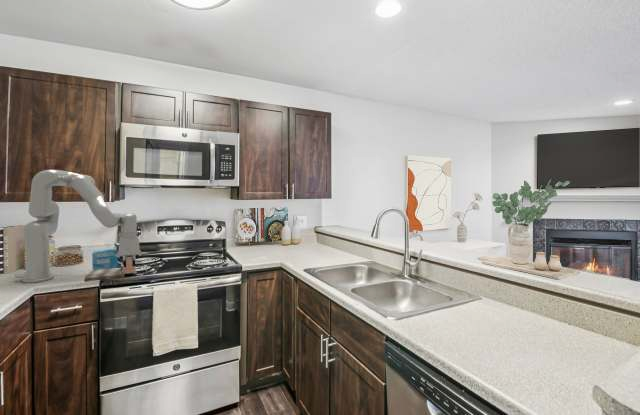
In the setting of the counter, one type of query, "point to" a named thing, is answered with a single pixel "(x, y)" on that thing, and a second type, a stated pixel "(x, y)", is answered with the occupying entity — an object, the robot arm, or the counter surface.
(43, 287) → the counter surface
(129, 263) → the stub
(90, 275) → the ticket pad
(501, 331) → the counter surface
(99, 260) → the data package
